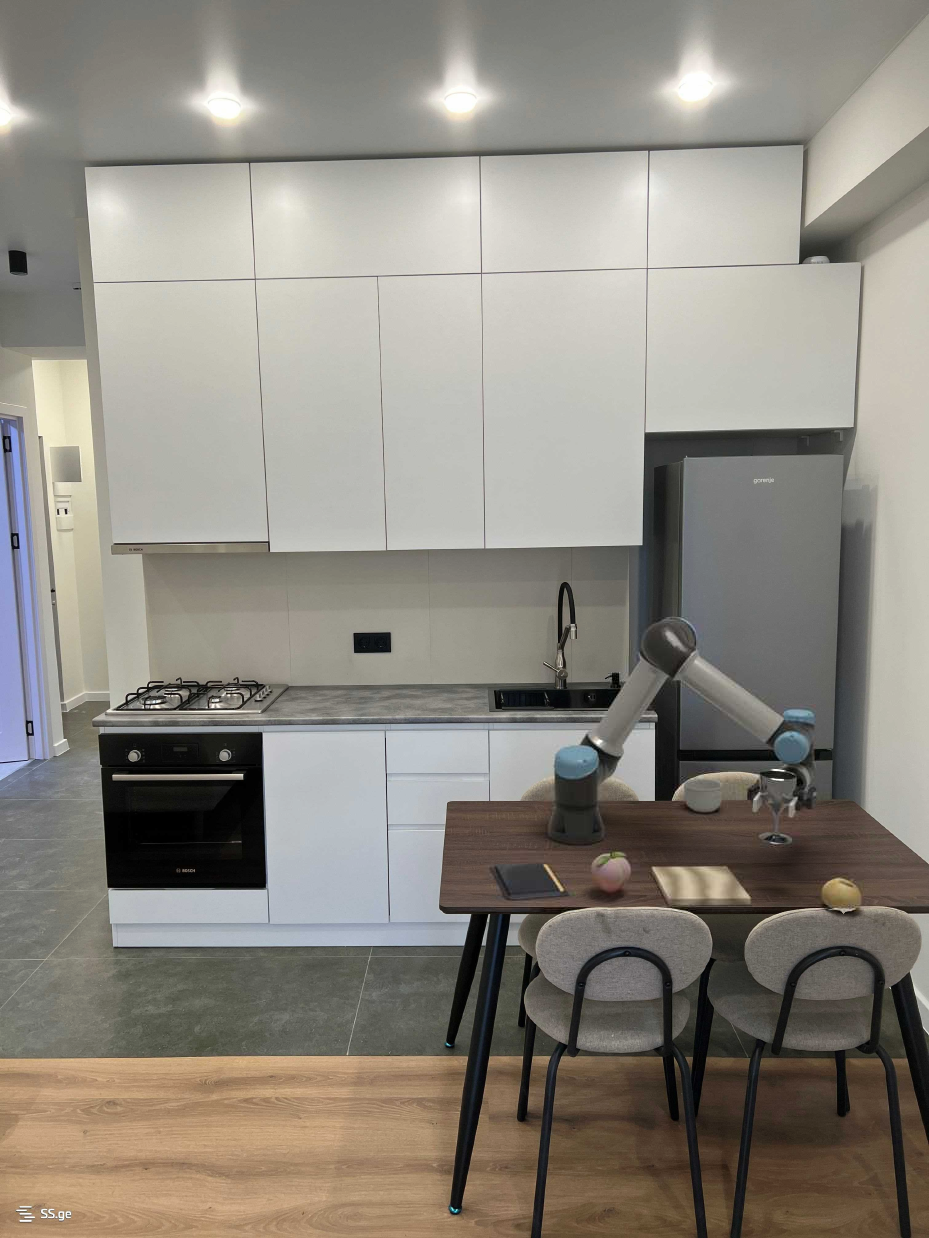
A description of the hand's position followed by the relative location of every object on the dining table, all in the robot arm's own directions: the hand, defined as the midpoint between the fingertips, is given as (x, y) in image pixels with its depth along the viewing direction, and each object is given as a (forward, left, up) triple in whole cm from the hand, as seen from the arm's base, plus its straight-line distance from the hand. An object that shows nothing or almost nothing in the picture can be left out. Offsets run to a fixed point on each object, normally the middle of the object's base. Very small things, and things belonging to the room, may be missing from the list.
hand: (772, 808), depth 193 cm
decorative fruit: (-36, +3, -21) cm, 41 cm away
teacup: (+1, +62, -21) cm, 66 cm away
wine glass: (+2, +4, -9) cm, 10 cm away
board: (-15, +5, -21) cm, 26 cm away
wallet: (-54, +10, -21) cm, 59 cm away
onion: (+13, -6, -21) cm, 25 cm away
